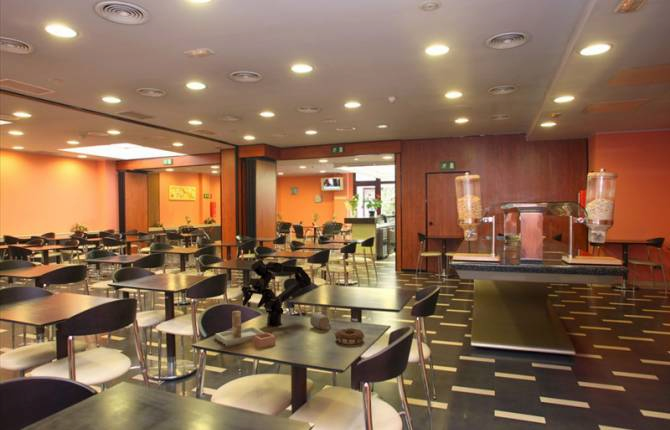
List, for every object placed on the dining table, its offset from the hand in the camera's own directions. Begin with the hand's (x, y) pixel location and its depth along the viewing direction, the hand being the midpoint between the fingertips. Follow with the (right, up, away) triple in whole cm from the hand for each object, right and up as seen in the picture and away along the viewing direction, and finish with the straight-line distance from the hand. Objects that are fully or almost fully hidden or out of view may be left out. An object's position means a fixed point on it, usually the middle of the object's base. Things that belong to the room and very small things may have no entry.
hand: (250, 306), depth 213 cm
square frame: (+10, -14, -17) cm, 24 cm away
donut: (+49, -14, -11) cm, 53 cm away
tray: (-3, -14, -9) cm, 17 cm away
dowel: (-4, -13, -11) cm, 17 cm away
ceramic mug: (+36, -14, +10) cm, 40 cm away
